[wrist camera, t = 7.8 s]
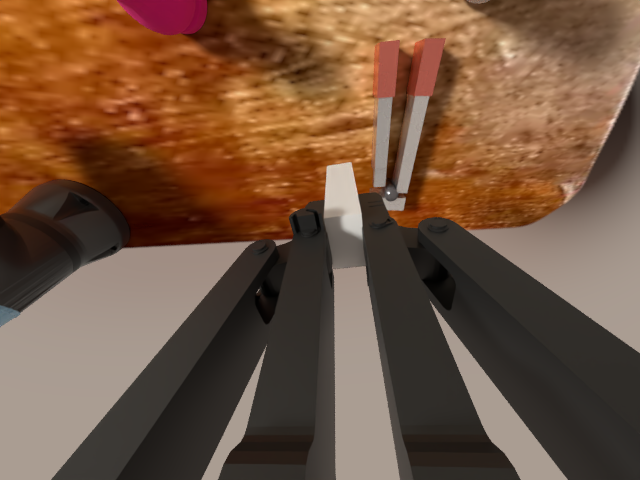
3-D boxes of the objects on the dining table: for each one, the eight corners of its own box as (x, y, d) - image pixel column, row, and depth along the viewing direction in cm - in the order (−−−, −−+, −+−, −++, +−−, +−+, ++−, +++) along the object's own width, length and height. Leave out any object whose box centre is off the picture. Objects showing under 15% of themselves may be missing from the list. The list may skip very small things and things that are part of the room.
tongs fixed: (399, 200, 38) (406, 213, 35) (368, 199, 39) (371, 212, 35) (433, 42, 27) (448, 37, 23) (388, 42, 27) (397, 37, 24)
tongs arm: (382, 177, 36) (386, 187, 33) (369, 178, 37) (372, 188, 33) (392, 44, 27) (399, 40, 24) (374, 45, 27) (379, 42, 24)
